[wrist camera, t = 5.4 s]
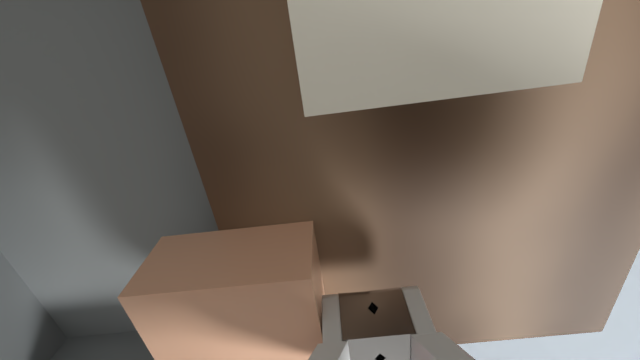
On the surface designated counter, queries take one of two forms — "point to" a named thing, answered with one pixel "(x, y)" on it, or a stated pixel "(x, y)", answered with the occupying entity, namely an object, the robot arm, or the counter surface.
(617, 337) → the counter surface
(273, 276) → the tile terracotta
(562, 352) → the counter surface
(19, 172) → the tray
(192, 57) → the board
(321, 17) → the tile cream
